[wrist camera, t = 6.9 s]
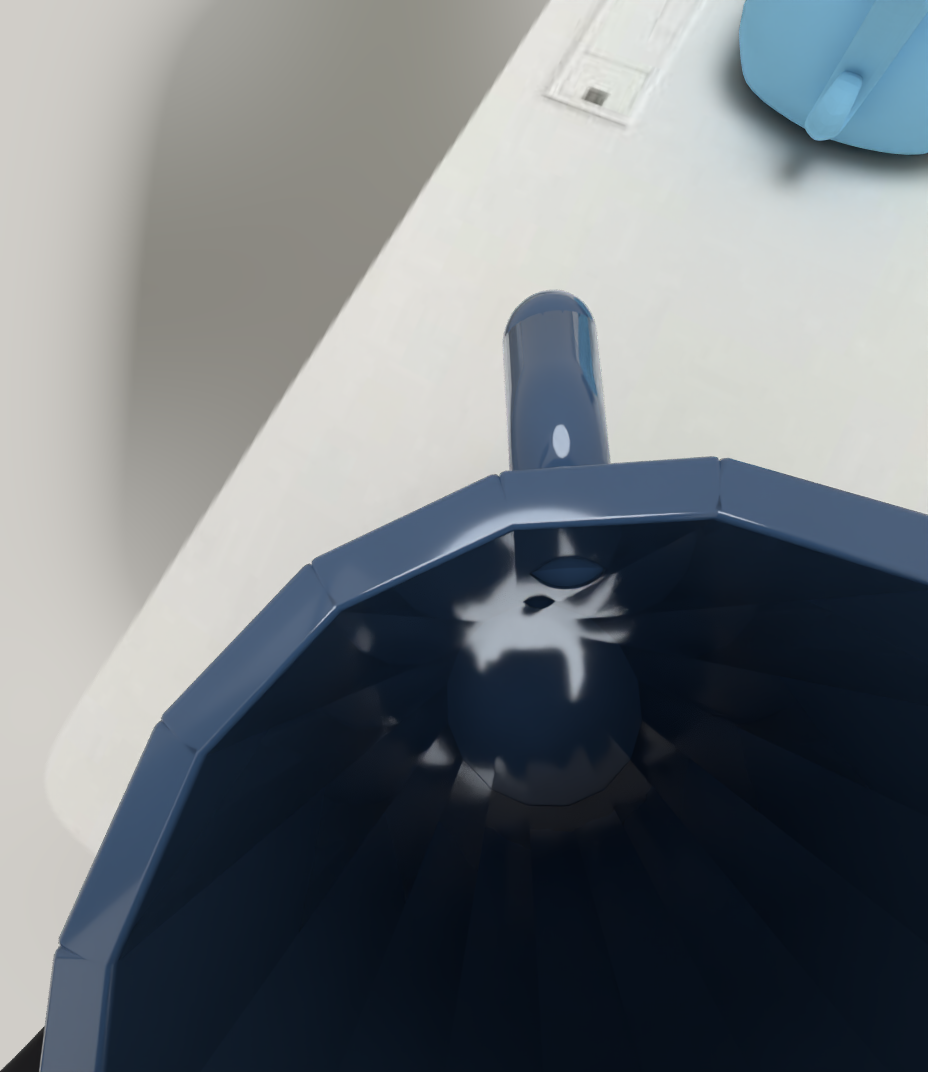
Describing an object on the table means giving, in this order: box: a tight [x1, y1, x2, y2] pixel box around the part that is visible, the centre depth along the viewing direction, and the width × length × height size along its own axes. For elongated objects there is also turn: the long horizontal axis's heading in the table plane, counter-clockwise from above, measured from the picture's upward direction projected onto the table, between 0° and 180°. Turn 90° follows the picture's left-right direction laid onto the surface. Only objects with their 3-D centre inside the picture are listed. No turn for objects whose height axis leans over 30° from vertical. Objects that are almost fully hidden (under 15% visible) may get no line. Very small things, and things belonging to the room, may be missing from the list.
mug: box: [39, 290, 928, 1072], centre depth 9 cm, size 10×7×13 cm
